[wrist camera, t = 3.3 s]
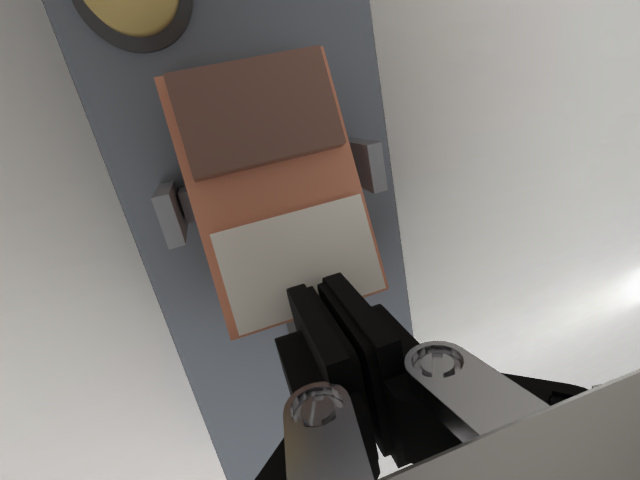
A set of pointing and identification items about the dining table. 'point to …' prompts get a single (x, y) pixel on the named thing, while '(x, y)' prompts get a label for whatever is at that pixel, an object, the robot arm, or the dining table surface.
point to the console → (171, 194)
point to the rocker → (270, 182)
